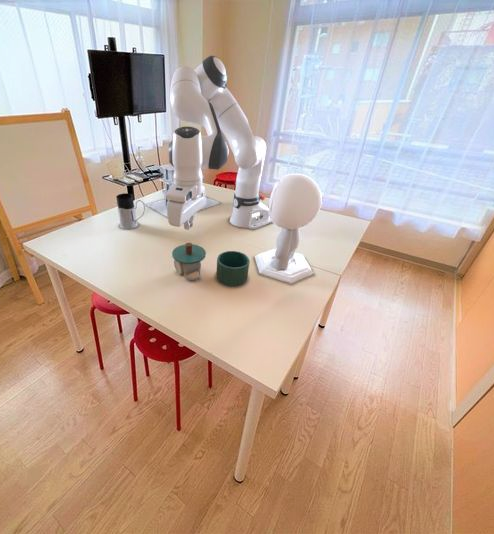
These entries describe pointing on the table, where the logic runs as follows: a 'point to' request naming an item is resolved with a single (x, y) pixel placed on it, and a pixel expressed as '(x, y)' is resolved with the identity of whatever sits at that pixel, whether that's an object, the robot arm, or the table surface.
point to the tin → (232, 268)
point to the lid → (189, 253)
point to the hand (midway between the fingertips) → (188, 227)
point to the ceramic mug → (187, 269)
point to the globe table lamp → (290, 227)
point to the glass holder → (127, 211)
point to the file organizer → (168, 180)
